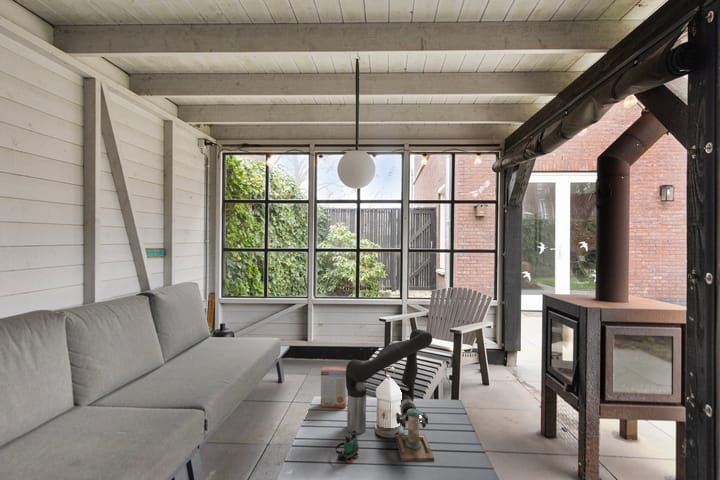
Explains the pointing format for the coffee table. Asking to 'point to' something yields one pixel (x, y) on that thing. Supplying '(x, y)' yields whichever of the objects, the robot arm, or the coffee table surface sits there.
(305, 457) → the coffee table surface
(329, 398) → the cracker box
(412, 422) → the bobbin
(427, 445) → the brown wooden tray
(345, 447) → the binoculars
